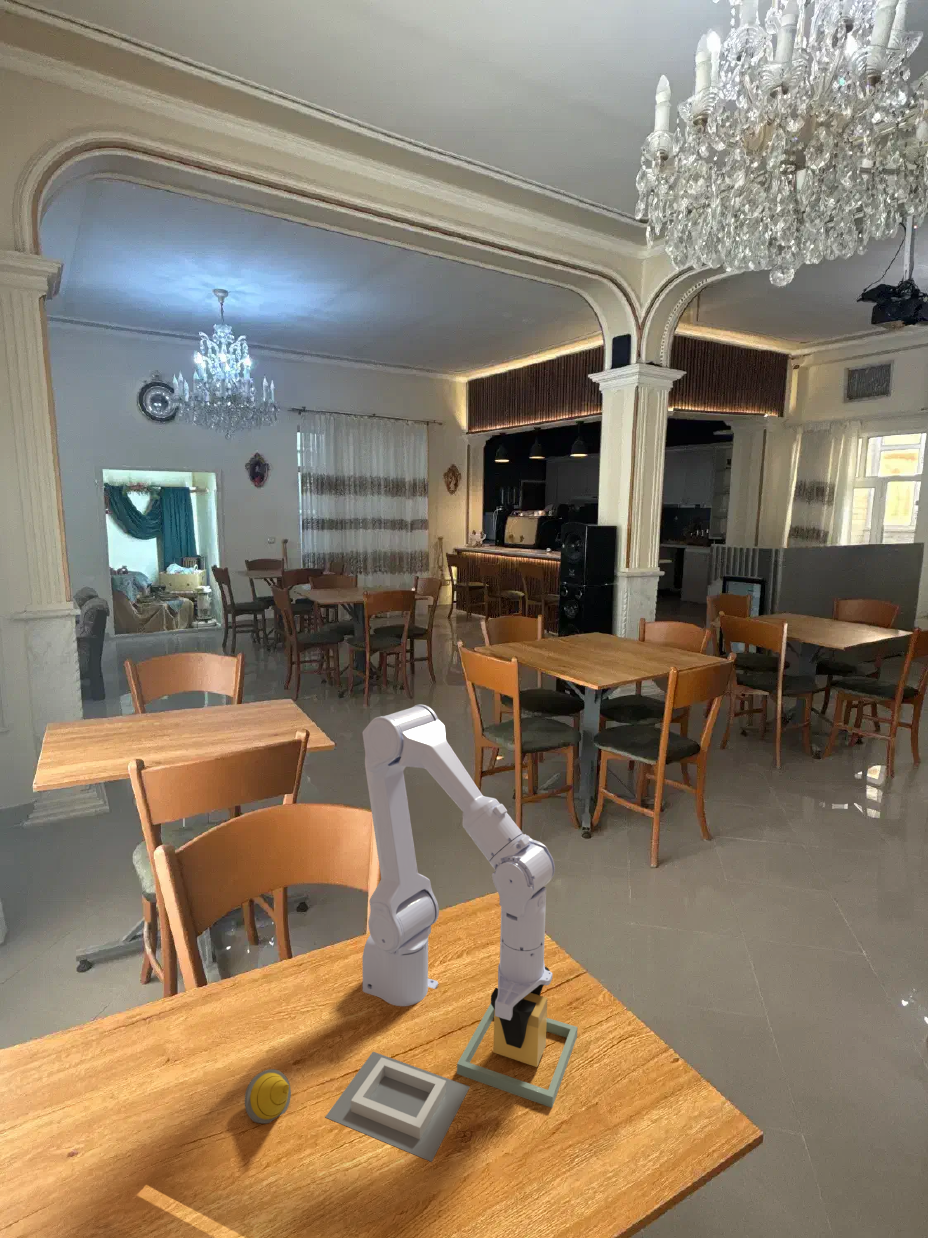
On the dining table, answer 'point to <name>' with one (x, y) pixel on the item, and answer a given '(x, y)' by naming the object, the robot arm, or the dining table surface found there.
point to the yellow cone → (267, 1096)
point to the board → (400, 1105)
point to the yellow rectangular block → (533, 1036)
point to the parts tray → (511, 1083)
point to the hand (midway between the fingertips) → (519, 1032)
